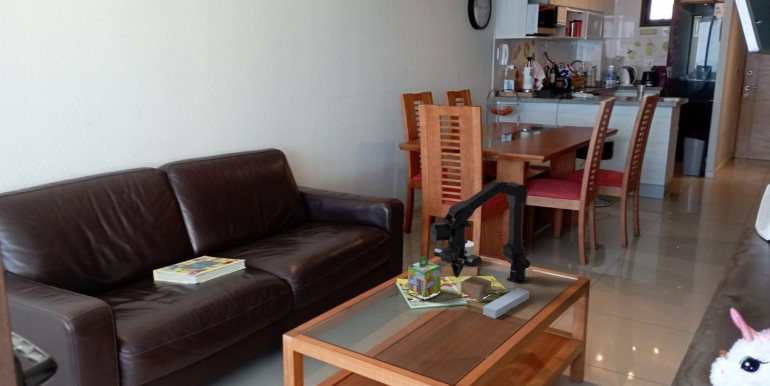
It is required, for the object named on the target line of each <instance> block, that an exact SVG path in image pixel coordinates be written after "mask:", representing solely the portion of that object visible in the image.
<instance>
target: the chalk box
mask: <svg viewBox="0 0 770 386" xmlns="http://www.w3.org/2000/svg"><path fill="white" fill-rule="evenodd" d="M428 259H429V258H428V256H427V255H424V256H421V257H419V258H418V262H416V263H415V262H414V263H413V264H410V265H408V266H407V267H408V269H407V271H408V272H407V274H408V275H407V277H408V278H407V280H408V281H407V282H408V283H407V287H408V289H407V290H411V291H413V292H415V293H417V294H419V295H421V296H423V297H428V296H430V295H432V294H434V293H437V292H439V291H441V287H442V286H441V284H442V283H441V282H442V281H441V280H442V266H440V265H437V264H436V263H434V262H429V260H428Z"/></svg>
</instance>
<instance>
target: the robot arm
mask: <svg viewBox="0 0 770 386" xmlns="http://www.w3.org/2000/svg"><path fill="white" fill-rule="evenodd" d="M500 193H501V194H504V195H506V200H507V202H508V204H509V216H508V217H509V218H508V220H509V221H508V241H507V242H506V243H503V244H502V254H503V256H504V258H505V259H506V260H507V261H506V262H508V263H509V264H510V269H509V276H508V277H507V278H506V280H507V281H510V282H514V283H517V284H523V283H524V282H526V281H528V280H529V277H527V276H526V271H527V270H526V269H529V268H530V266H531V261H529V260H528V259H527V258H526V252H525V247H524V245H523V242H522V230H523V229H522V227H523V206H524V204H525V203H526V201H527V196H528V188H527V186H526V185H523V184H521V183H519V182H516V181H509V182H507V181H503V180H502V181H500V180H498V179H497V180H496V179H494V180H493V181H491V183H490V184H487V185H486V186H485V187H484V188H482V189H481V190H479V191H478V192H476V193H475V194H474V195H472V196H470V197H469V198H467V199H465V200H463V201H458V202H456V203H454V204H452V205H451V206H450V207H449V209H448V212H447V213H446V215H445V217H444V218H443V219H442V222H433V223H432V226H431V228H430V230H429V234H430V235H429V236H430V239H431V241H432V242H433V243H436V242H443V241H444V242H445V241H447V243H446V244H447V245H446V246H445V245H440V246H438V247H436V248H434V250H433V251H434V252H433V256H435V257H438V258H440V261H441V262H445V263H447V264H449V265H450V267H451V268H452V271H453V275H454V277H455V278H460V275H461V272H463V269H464V268H465V267H470V268H475V267H477V266H479V265H481V264H482V262H483V259H482V257H481V256H479V255H476V254H472V255H470V256H467V255H465V254H467V251H466V250H465V244H466V243H467V239H466V231H467V230H466V229H467V228H469V227H472V224H470V223H469V221H468V220H469V219H470V218H471V217H472V216H473V215H474V213H475V211H476V210H477V209H479V208H480V207H481V206H483V205H485V204H486V203H487V202H488V201H490V200H491V199H493V198H495V197H496V196H498V194H499V195H500ZM465 265H466V266H465ZM464 266H465V267H464Z"/></svg>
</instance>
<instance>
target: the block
mask: <svg viewBox="0 0 770 386" xmlns="http://www.w3.org/2000/svg"><path fill="white" fill-rule="evenodd" d="M461 292H462V293H464V294H466V295H468V296H471V297H472V298H474V299H476V300H477V301H480V300H482V299H483V298H484V297H486V296H488V295H490V294H491V295H492V280H490V279H485V278H483V277H478V276H476V275H472V276H470V277H468V278H466V279H464V280H463V281H461V282H460V293H461ZM482 301H483V300H482Z"/></svg>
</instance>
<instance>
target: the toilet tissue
mask: <svg viewBox="0 0 770 386" xmlns="http://www.w3.org/2000/svg"><path fill="white" fill-rule="evenodd" d="M466 240H467V239H466ZM465 250H466V251H467V254H465V255H467V256H470V255H472V254H474V252H475V242H473V241H471V240H467V243H466V244H465ZM474 255H475V254H474ZM465 267H467V266H466V265H465V266H464V267H463V268H465Z"/></svg>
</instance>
